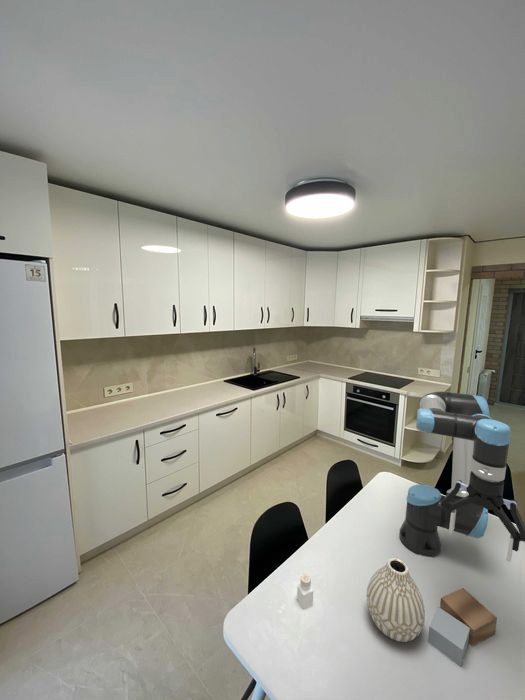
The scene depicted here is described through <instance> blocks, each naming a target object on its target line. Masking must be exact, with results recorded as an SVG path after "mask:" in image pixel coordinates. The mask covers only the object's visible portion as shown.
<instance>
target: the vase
mask: <svg viewBox="0 0 525 700" xmlns="http://www.w3.org/2000/svg"><path fill="white" fill-rule="evenodd" d="M408 567H409V566H408V565H407V564H406V563H405V562H404V561H403V560H401V559H399V558H396V557H391V558H389V559H388V560H387V562H386V563H385V565H383V566H381V567H380V568H379V569H377V570H376V571H375V572H374V573H373V574H372V576H371V577H370V580H369V582H368V583H367V587H366V602H367V603H366V604H367V608H368V612H369V615H370V617H371V619H372V620H373V622H374V624H375V626H376V627H377V629H379V631H381V632H382V633H383V634H384V635H385V636H387V637H388V638H390V639H391V640H394V641H396V642H399V643H400V642H402V643H407V642H410V641H413V640H414V639H416V638H417V637H418V636H419V635H420V634H421V632H422V630H423V628H424V624H425V619H426V609H425V604H424V600H423V596H422V594H421V591H420V589H419V587H418V585H417V584H416V582H415V580H414V578H413V577H412V576H411V574H410V570H409V568H408Z"/></svg>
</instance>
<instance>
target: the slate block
mask: <svg viewBox="0 0 525 700" xmlns="http://www.w3.org/2000/svg"><path fill="white" fill-rule="evenodd" d="M469 633H470V628H469V627H468V626H466V625H465V624H463V623H462V622H460V621H459V620H457V619H456V618H454V617H453V616H451V615H450V614H448V613H447V612H445V611H444V610H442V609H441V608H440V606H439V607H438V606H437V609H436V611H435V613H434V614H433V617H432V619H431V622H430V624H429V626H428V636H427V642H428V644H430V645H431V646H433V647H434V648H435V649H436V650H438V651H440V653H443V654H444V655H445V656H446V657H448V659H450V660H451V661H453V662H454V663H455V664H457V665H458V666H459V667H460V668H461V666H462V663H463V660H464V658H465V655H466V651H467V648H468V645H469V643H468V641H469Z"/></svg>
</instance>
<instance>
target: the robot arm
mask: <svg viewBox="0 0 525 700" xmlns="http://www.w3.org/2000/svg"><path fill="white" fill-rule="evenodd" d="M415 427H416V430H418V431H420V432H424V433H426V434H433V435H439V436H446V437H452V438H453V446H452V447H453V450H452V468H451V469H452V470H451V471H452V472H451V488H450V489H448V490H447V491H446V495H442V494H441V491H440V490H439V489H437V488H435V487H434V486H432V485H429V484H414V485H411V486H410V487H409V488H408V490H407V496H406V507H405V508H406V509H405V517H404V518H405V519H404V521H403V522H402V524H401V527H400V529H399V539H400V542H401V543H402V544H403V546H405V547H406V548H407V549H408V550H410V551H411V552H413V553H415V554H417V555H420V556H424V557H436V556H438V555H439V554H440V553H441V550H442V549H441V548H442V542H441V538H440V534H439V531H438V527H439V528H443V529H446V530H448V533H449V534H453V532H456V533H459V534H461V535H462V534H463V535H465V536H467V537H472V538H475V539H481V538H483V537H484V535H485V534H486V531H487V527H488V524H489V523H488V522H489V511H490V510H491V511H493V513H494V515H495V516H497V517H498V519H499V520H500V521H501V523H502V524H503V527H504V528H505V529H506V530H507V531H508V533H509V540H508V541H509V542H508V546H507V547H508V548H507V554H506V561H507V562H508V563H511V561H512V555H513V551H514V552H518V551H519V549H520V542H524V543H525V523H524V520H523V518H522V516H521V514H520V511H519V509H518V502H517V500H516V499H510V500H509V499H505V498H504V496H503V494H504V485H505V481H504V480H505V478H506V470H507V463H508V462H507V461H508V456H509V455H508V454H509V448H510V447H509V446H510V442H511V427H510V426H509V425H508V424H507V423H504V422H501V421H499V420H495V419H493V418H492V417H491V415H490V408H489V404H488V401H487V399H486V398H484V396H481V395H475V394H468V393H467V394H466V393H458V392H451V391H450V392H449V391H434V392H430V393H427V394H425V395H423V396H422V397H421V398H420V400H419V408H418V409H417V411H416V426H415ZM503 505H505V507H506V508H507V509H508V510H509V511H510V515H511V517H512V519H513V521H514V523H515V525H514V523H513V521H511V519H510V517H508V515H507V514H506V513H505V511H504V509H503V507H502V506H503Z"/></svg>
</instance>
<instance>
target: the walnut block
mask: <svg viewBox="0 0 525 700" xmlns="http://www.w3.org/2000/svg"><path fill="white" fill-rule="evenodd" d="M439 608H441V609H442V610H444V611H445V612H447V613H448V614H450V615H451V616H453V617H454V618H456V619H457V620H459V621H460V622H462V623H463V624H465V625H466V626H468V627H469V628H470V633H469V641H468V645H469V646H470V647H474V646H476V645H478V644H480V643H483V641H486V640H488V639H489V638H491V637H493V636H495V635H496V629H497V623H498V617H496V616H495V614H493V613H492V612H491V611H490V610H489V609H488V608H487V607H485V606H484V604H483V603H481V602H480V601H479V600H478V599H477V598H476V597H474V596H473V595H472V594H471V593H469V592H468V590H466V589H465V588H464V587H462V588H460V589H456V590H454V591H452V592H450V593H448V594H445V595H443V596H442V597H440V603H439Z"/></svg>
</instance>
